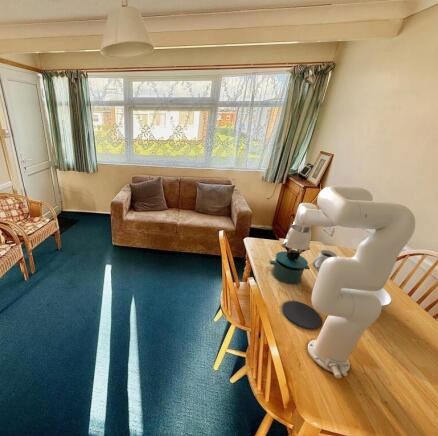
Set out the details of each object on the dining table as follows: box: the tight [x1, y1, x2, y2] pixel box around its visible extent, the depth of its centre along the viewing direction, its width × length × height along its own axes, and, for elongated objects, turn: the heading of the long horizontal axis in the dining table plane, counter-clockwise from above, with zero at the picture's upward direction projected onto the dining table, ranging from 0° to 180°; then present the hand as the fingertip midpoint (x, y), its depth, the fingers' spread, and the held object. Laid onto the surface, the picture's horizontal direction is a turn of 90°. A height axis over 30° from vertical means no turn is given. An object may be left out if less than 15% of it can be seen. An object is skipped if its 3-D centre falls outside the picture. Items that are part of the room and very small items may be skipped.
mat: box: [281, 300, 323, 330], centre depth 102 cm, size 15×15×1 cm
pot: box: [269, 258, 311, 285], centre depth 125 cm, size 14×19×8 cm
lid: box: [275, 249, 309, 268], centre depth 120 cm, size 15×15×6 cm
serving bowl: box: [368, 287, 392, 310], centre depth 109 cm, size 21×21×7 cm
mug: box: [312, 249, 340, 271], centre depth 130 cm, size 11×10×10 cm
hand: (291, 257), depth 121 cm, fingers closed on lid, 3 cm apart
